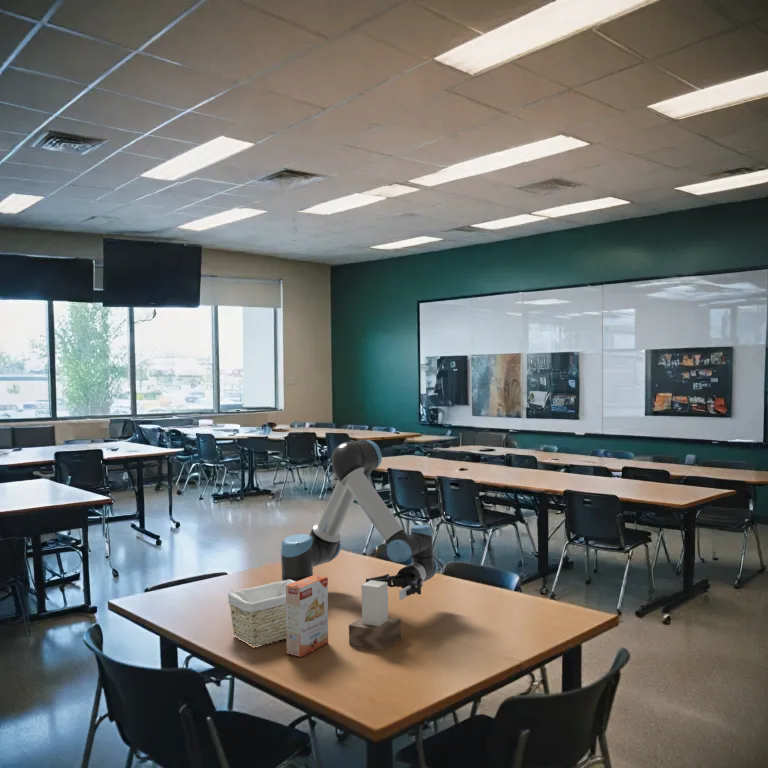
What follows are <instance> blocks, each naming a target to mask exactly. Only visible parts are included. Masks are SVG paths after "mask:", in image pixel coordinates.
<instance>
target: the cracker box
mask: <svg viewBox="0 0 768 768" xmlns="http://www.w3.org/2000/svg"><path fill="white" fill-rule="evenodd" d="M328 580H329V577H327V576H322V575H317V574H313V576H310V577H307V578H305V579H302V580H299V581H297V582H294V583H291V584H289V585H286V639H285V640H286V641H285V642H286V644H285V645H286V646H285V647H286V648H285V649H286V653H288V654H291V655H290V656H292V655H295V656H294V657H296V656H299V657H298V658H300V657H301V656H302V657H304V656H306V655H308V654H310V653H312V652H313V651H312V650H314V651H316V650H317V648H318V647H320V648H322V647H323V645H324V644H326V643H327V644H328V643H329V596H328V595H329V591H328V590H329V581H328ZM327 644H326V645H327ZM321 646H322V647H321ZM324 646H325V645H324ZM315 649H316V650H315ZM318 649H319V648H318ZM311 651H312V652H311ZM309 652H310V653H309ZM307 653H308V654H307ZM288 654H287V655H288ZM305 654H306V655H305ZM303 655H304V656H303ZM302 657H301V658H302Z"/></svg>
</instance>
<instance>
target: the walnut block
mask: <svg viewBox="0 0 768 768" xmlns="http://www.w3.org/2000/svg"><path fill="white" fill-rule="evenodd" d="M400 638H401V639H402V619H401V618H398V617H390V616H388V621H387V622H385V623H384V624H382V625H380V626H374V625H368V624H362V617H360V618H359V619H357V620H355V621H353V622H352V623H350V624H348V644H350V645H349V646H354V645H355V647H360V646H361V647H360V648H367V649H370V650H376V649H377V651H382V650H383V651H382V652H384V651H385V650H387V649H388V648H390V647H391V646H392V645H394V644H395V643H396V642H398V641H399V640H401V639H400ZM398 639H399V640H398ZM397 640H398V641H397ZM395 641H396V642H395ZM394 642H395V643H394ZM393 643H394V644H393ZM390 645H391V646H390ZM386 648H387V649H386Z"/></svg>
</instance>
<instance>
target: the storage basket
mask: <svg viewBox="0 0 768 768" xmlns="http://www.w3.org/2000/svg"><path fill="white" fill-rule="evenodd" d="M294 582H296V581H293V580H285V581H282V580H280V581H275V582H271V583H266V584H263V585H257V586H253V587H248V588H242V589H238V590H234V591H233V590H232V591H230V592H228V594H227V595H228V596H227V597H228V604H229V607H230V609H229V610H230V616H231V617H230V618H231V624H232V631H233V633H232V634H233V636H234V635H236V636H237V637H239V638H240V639H242V640H244V641H245V642H248V643H249V644H252V646H258V645H264V644H268V643H271V642H276V641H278V642H280V641H279V640H282V641H284V640H283V639H285V640H286V585H289V584H291V583H294ZM276 643H277V642H276ZM271 644H272V643H271ZM268 645H269V644H268ZM264 646H265V645H264Z"/></svg>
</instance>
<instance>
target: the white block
mask: <svg viewBox="0 0 768 768" xmlns="http://www.w3.org/2000/svg"><path fill="white" fill-rule="evenodd" d="M388 587H389V586H388V582H381V581H374V580H370V581H368V582H366V581H365V582H364V583H363V584H361V618H362V624H368V625H374V626H380V625H382V624H384V623H385V622H387V621H388V617H389V597H388V595H389V594H388V593H389V592H388V591H389V588H388Z"/></svg>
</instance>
